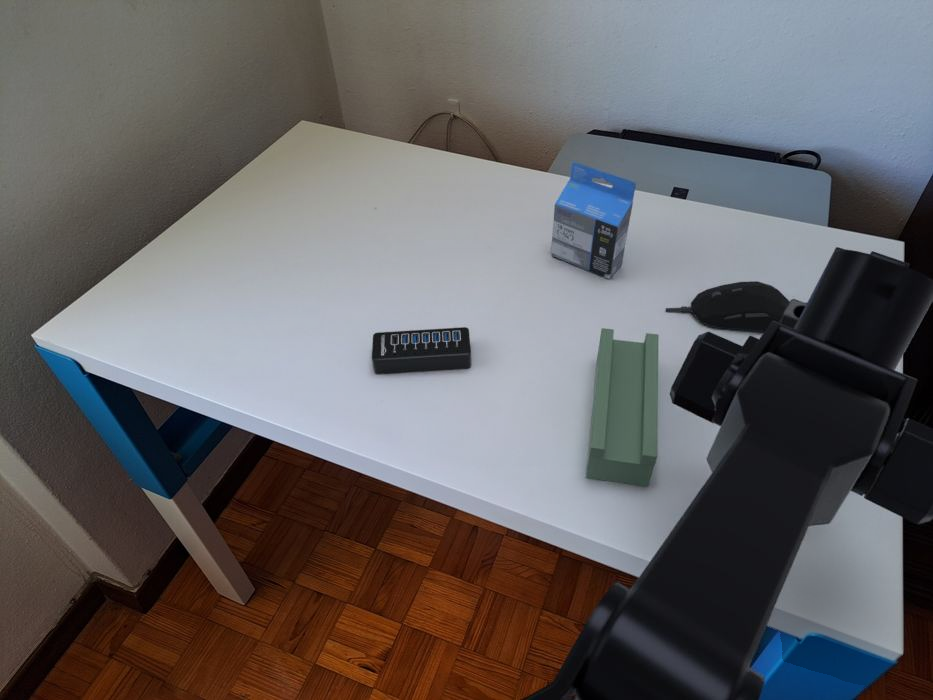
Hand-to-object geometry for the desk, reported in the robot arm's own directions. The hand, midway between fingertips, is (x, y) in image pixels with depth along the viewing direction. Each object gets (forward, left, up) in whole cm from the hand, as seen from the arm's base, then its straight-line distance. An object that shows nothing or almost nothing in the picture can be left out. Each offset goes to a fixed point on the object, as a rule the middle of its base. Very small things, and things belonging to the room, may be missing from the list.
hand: (807, 419), depth 57 cm
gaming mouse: (+22, +11, -11) cm, 27 cm away
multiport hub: (-2, +38, -11) cm, 40 cm away
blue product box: (+23, +30, -11) cm, 39 cm away
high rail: (+1, +16, -11) cm, 19 cm away
